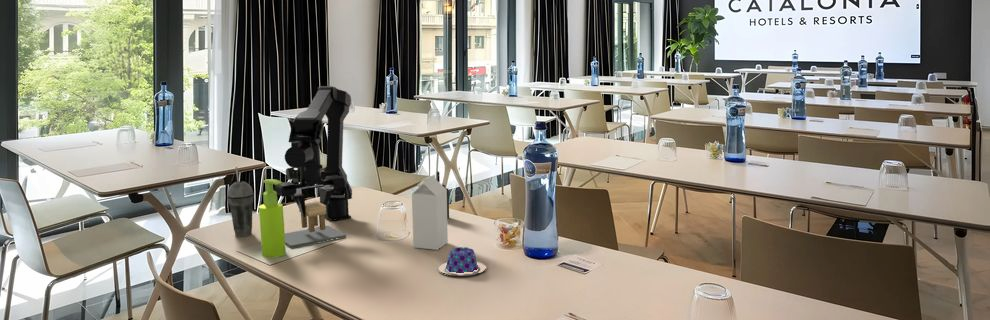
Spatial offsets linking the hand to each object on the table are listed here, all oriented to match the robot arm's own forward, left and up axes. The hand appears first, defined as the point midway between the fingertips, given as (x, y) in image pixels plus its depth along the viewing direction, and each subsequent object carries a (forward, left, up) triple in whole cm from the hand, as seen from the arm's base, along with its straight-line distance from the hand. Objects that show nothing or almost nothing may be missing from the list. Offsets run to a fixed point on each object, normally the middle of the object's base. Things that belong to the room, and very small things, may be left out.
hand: (312, 215), depth 196 cm
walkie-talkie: (-39, +6, -7) cm, 40 cm away
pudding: (-18, +48, -7) cm, 52 cm away
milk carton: (-22, +27, -7) cm, 35 cm away
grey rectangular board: (+1, 0, -6) cm, 6 cm away
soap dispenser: (+14, +8, -7) cm, 18 cm away
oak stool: (0, 0, -4) cm, 4 cm away
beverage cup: (+15, -15, -7) cm, 22 cm away
